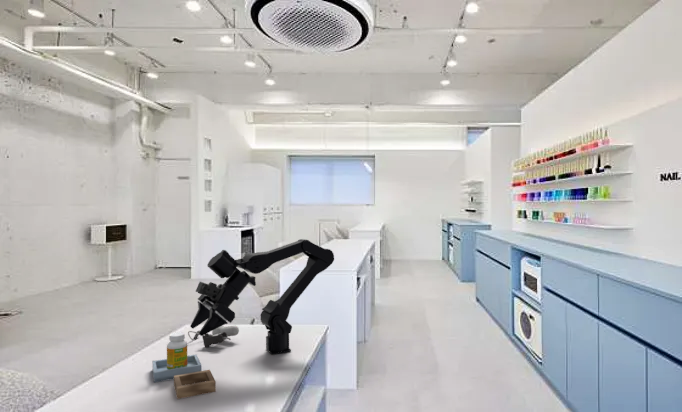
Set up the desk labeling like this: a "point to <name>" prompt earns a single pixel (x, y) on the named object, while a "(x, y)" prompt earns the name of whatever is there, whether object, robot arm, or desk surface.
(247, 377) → the desk surface
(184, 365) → the supplement bottle
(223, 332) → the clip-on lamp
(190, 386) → the frame
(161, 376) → the tray
